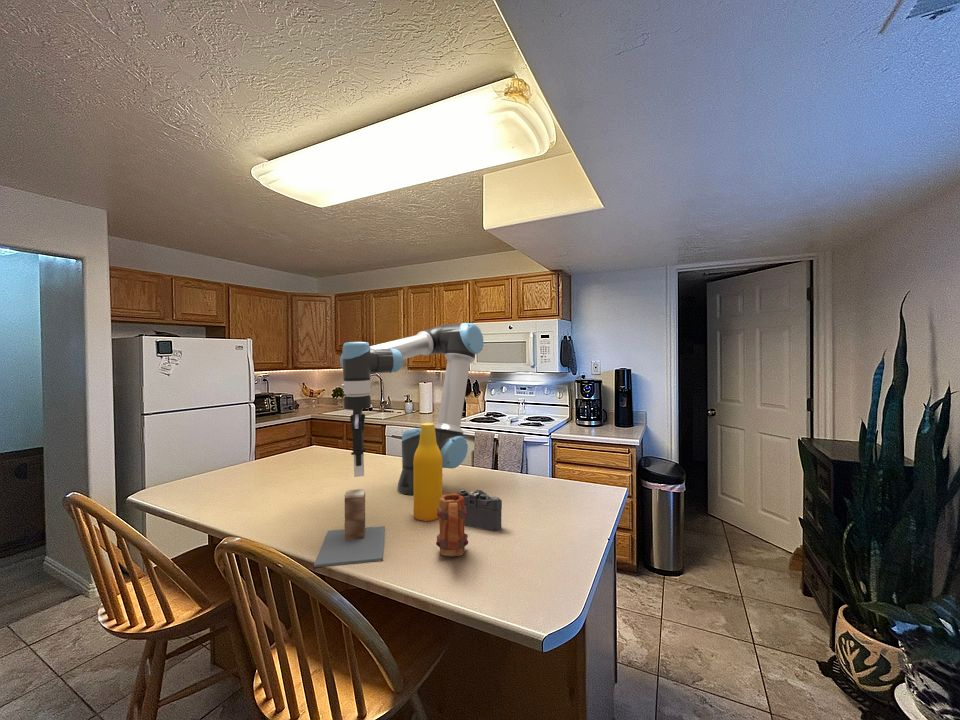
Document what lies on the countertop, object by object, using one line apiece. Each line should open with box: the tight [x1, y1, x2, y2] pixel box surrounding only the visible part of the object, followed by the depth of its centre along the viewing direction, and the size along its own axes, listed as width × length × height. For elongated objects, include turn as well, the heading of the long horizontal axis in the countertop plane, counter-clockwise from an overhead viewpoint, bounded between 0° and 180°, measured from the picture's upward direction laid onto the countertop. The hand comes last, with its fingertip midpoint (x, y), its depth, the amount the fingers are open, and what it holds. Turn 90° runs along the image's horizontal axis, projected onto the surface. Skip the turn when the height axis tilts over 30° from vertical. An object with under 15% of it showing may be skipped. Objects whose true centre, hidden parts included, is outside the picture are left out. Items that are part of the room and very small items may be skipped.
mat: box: [313, 525, 386, 568], centre depth 109 cm, size 16×20×1 cm
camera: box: [457, 488, 503, 532], centre depth 124 cm, size 14×11×10 cm
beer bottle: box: [412, 422, 444, 522], centre depth 129 cm, size 9×9×29 cm
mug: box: [435, 492, 469, 558], centre depth 102 cm, size 15×8×15 cm, turn 5°
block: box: [344, 488, 366, 540], centre depth 114 cm, size 5×5×12 cm
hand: (359, 475), depth 119 cm, fingers closed
